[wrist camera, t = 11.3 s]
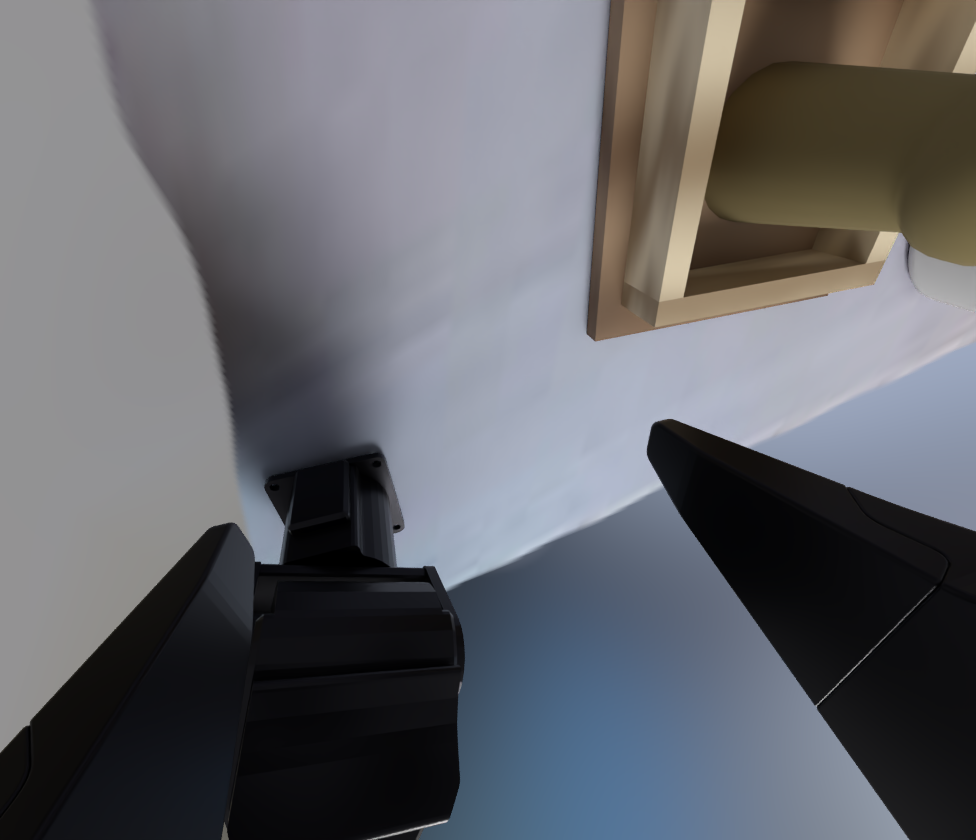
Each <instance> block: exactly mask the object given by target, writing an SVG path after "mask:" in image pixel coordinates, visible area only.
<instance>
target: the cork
mask: <svg viewBox="0 0 976 840" xmlns="http://www.w3.org/2000/svg"><path fill="white" fill-rule="evenodd" d="M704 198H705V201H706V203H707V206H708V208H709V209H710V210H711V211H712V212H713V213H715V214H716V215H717V216H718V217H719V218H721V219H724V220H728V221H732V222H741V223H756V224H772V225H788V226H803V227H819V228H835V229H851V230H866V231H882V232H898V233H902V234H903V236H904V237H905V238H906V240H907V241H908V243H909V244H910V246H911V247H912V248H914V249H916V250H918V251H919V252H921V253H923V254H924V255H926V256H928V257H932V258H935V259H938V260H942V261H946V262H950V263H954V264H958V265H962V266H976V74H965V73H951V72H937V71H923V70H910V69H896V68H882V67H869V66H855V65H841V64H828V63H814V62H800V61H788V62H778V63H772V64H771V65H769V66H767V67H765V68H763V69H761V70H759V71H757V72H755V73H754V74H752V75H751V76H750V77H749V78H748V79H747V80H746V81H745V82H744V83H743V84H742V85H740V86H739V87H738V88H737V89H736V90H735V91H734V92H733V93H732V95H731V96H730V98H729V99H728V101H727V102H726V103H725V105H724V106H723V110H722V115H721V120H720V125H719V130H718V134H717V139H716V144H715V149H714V153H713V158H712V163H711V168H710V173H709V177H708V182H707V187H706V192H705V196H704Z"/></svg>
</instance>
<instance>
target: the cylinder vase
mask: <svg viewBox="0 0 976 840" xmlns="http://www.w3.org/2000/svg"><path fill="white" fill-rule="evenodd" d="M908 268H909V274H910V278H911V281H912V283H913V285H914V286H915V288H916V289H917V290H918V291H919V292H920V293H921V294H922V295H924V296H925V297H927V298H929V299H932V300H935V301H938V302H941V303H945V304H948V305H951V306H954V307H958V308H961V309H964V310H967V311H971V312H974V313H976V266H962V265H958V264H954V263H950V262H946V261H942V260H938V259H935V258H932V257H928V256H926V255H924V254H923V253H921V252H919V251H918V250H916V249H914V248H912V247H911V246H910V249H909V257H908Z"/></svg>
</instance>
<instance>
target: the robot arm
mask: <svg viewBox="0 0 976 840" xmlns="http://www.w3.org/2000/svg"><path fill="white" fill-rule="evenodd" d="M647 456H648V459H649V461H650V463H651V464H652V466H653V468H654V470H655V472H656V473H657V475H658V477H659V479H660V481H661V482H662V484H663V486H664V488H665V489H666V491H667V493H668V495H669V496H670V498H671V500H672V502H673V504H674V505H675V507H676V509H677V510H678V512H679V514H680V515H681V517H682V518H683V520H684V521H685V522H686V524H687V525H688V527H689V528H690V530H691V531H692V533H693V534H694V535H695V537H696V538H697V540H698V541H699V542H700V544H701V545H702V547H703V548H704V550H705V551H706V552H707V554H708V555H709V557H710V558H711V559H712V561H713V562H714V564H715V565H716V566H717V568H718V569H719V571H720V572H721V574H722V575H723V576H724V578H725V579H726V580H727V582H728V583H729V585H730V586H731V588H732V589H733V590H734V592H735V593H736V595H737V596H738V598H739V599H740V600H741V602H742V603H743V605H744V606H745V607H746V609H747V610H748V612H749V613H750V615H751V616H752V617H753V619H754V620H755V621H756V623H757V624H758V626H759V627H760V629H761V630H762V632H763V633H764V634H765V636H766V637H767V639H768V640H769V641H770V643H771V644H772V646H773V647H774V648H775V650H776V651H777V653H778V654H779V656H780V657H781V658H782V660H783V661H784V663H785V664H786V665H787V667H788V668H789V670H790V671H791V673H792V674H793V675H794V677H795V678H796V680H797V681H798V682H799V684H800V685H801V687H802V688H803V689H804V691H805V692H806V694H807V695H808V697H809V698H810V699H811V701H812V702H813V704H814V705H815V706H817V710H818V711H819V713H820V714H821V715H822V717H823V718H824V720H825V721H826V722H827V724H828V725H829V727H830V728H831V729H832V731H833V732H834V734H835V735H836V737H837V738H838V739H839V741H840V742H841V744H842V745H843V746H844V748H845V749H846V751H847V752H848V754H849V755H850V756H851V758H852V759H853V761H854V762H855V763H856V765H857V766H858V768H859V769H860V770H861V772H862V773H863V775H864V776H865V777H866V779H867V780H868V782H869V783H870V785H871V786H872V787H873V789H874V790H875V792H876V793H877V795H878V796H879V797H880V798H881V800H882V801H883V803H884V804H885V806H886V807H887V809H888V810H889V811H890V813H891V814H892V816H893V817H894V819H895V820H896V821H897V823H898V824H899V826H900V827H901V828H902V830H903V831H904V833H905V834H906V835H907V837H908V838H909V840H976V531H973V530H970V529H967V528H964V527H961V526H958V525H955V524H952V523H949V522H946V521H942V520H939V519H937V518H934V517H931V516H928V515H925V514H922V513H919V512H916V511H913V510H910V509H907V508H904V507H901V506H899V505H896V504H893V503H891V502H888V501H885V500H882V499H880V498H877V497H874V496H871V495H869V494H866V493H864V492H861V491H859V490H856V489H853V488H851V487H845V485H843V484H840V483H838V482H835V481H832V480H830V479H827V478H825V477H822V476H819V475H817V474H814V473H812V472H809V471H806V470H804V469H801V468H799V467H796V466H793V465H791V464H788V463H785V462H783V461H780V460H777V459H775V458H772V457H770V456H767V455H765V454H762V453H759V452H757V451H754V450H752V449H749V448H746V447H744V446H741V445H739V444H736V443H733V442H731V441H728V440H725V439H723V438H720V437H718V436H715V435H712V434H710V433H707V432H705V431H702V430H699V429H697V428H694V427H692V426H689V425H686V424H684V423H681V422H678V421H676V420H673V419H666V420H662V421H658V422H655V423H654V424H653V425H652V427H651V431H650V436H649V441H648V446H647ZM374 461H380V462H379V463H373V462H374ZM272 484H277V485H278V486H273V485H272ZM264 488H265V491H266V492H267V494H268V496H269V498H270V500H271V501H272V503H273V505H274V507H275V509H276V510H277V512H278V514H279V516H280V518H281V519H282V521H283V523H284V525H285V530H284V537H283V543H282V549H281V556H280V562H279V564H261V562H255V557H254V551H253V549H252V547H251V545H250V543H249V542H248V540H247V539H246V537H245V536H244V534H243V533H242V531H241V530H240V528H239V527H238V526H237V524H235V523H226V524H222V525H218V526H213V527H211V528H209V529H208V530H207V531H206V532H205V533H204V534H203V535H202V536H201V537H200V538H199V540H198V541H197V542H196V543H195V544H194V545H193V546H192V547H191V548H190V549H189V550H188V552H186V554H185V555H184V556H183V557H182V558H181V559H180V560H179V561H178V562H177V563H176V564H175V566H174V567H173V568H172V569H171V570H170V571H169V572H168V573H167V574H166V575H165V576H164V577H163V578H162V579H161V580H160V582H159V583H158V584H157V585H156V586H155V587H154V588H153V589H152V590H151V591H150V592H149V594H147V596H146V597H145V598H144V599H143V600H142V601H141V602H140V603H139V604H138V605H137V606H136V607H135V608H134V610H133V611H132V612H131V613H130V614H129V615H128V616H127V617H126V618H125V619H124V620H123V622H121V624H120V625H119V626H118V627H117V628H116V629H115V630H114V631H113V632H112V633H111V634H110V636H108V638H107V639H106V640H105V641H104V642H103V643H102V644H101V645H100V646H99V647H98V648H97V649H96V651H95V652H94V653H93V654H92V655H91V656H90V657H89V658H88V659H87V660H86V661H85V662H84V663H83V664H82V666H81V667H80V668H79V669H78V670H77V671H76V672H75V673H74V674H73V675H72V676H71V678H70V679H69V680H68V681H67V682H66V683H65V684H64V685H63V686H62V687H61V688H60V689H59V690H58V691H57V692H56V694H55V695H54V696H53V697H52V698H51V699H50V700H49V701H48V702H47V703H46V704H45V705H44V707H43V708H42V709H41V710H40V711H39V712H38V713H37V714H36V715H35V716H34V717H33V718H32V720H31V721H30V725H29V726H25V727H24V728H23V729H22V730H21V731H20V732H19V733H18V734H17V735H16V737H14V739H13V740H12V741H11V742H10V743H9V744H8V745H7V746H6V747H5V748H4V749H3V750H2V752H1V753H0V840H221V837H222V831H223V825H224V822H225V824H226V827H227V833H228V838H229V840H419V838H420V836H421V833H422V831H423V829H424V828H426V827H430V826H434V825H439V824H442V823H446V822H447V821H448V820H449V818H450V815H451V813H452V809H453V806H454V802H455V799H456V796H457V792H458V789H459V784H460V772H459V757H458V737H457V710H458V708H457V707H458V694H459V692H460V688H461V684H462V680H463V674H464V662H465V652H464V639H463V633H462V628H461V624H460V622H459V619H458V616H457V614H456V612H455V610H454V608H453V606H452V604H451V601H450V599H449V597H448V595H447V593H446V590H445V588H444V586H443V584H442V582H441V580H440V577H439V575H438V573H437V571H436V569H435V567H434V566H424V567H423V568H404V567H397V563H396V554H395V545H394V535H393V534H394V533H397V532H400V531H402V530H403V529H404V520H403V517H402V513H401V510H400V506H399V503H398V500H397V496H396V493H395V489H394V486H393V483H392V479H391V476H390V472H389V469H388V465H387V462H386V459H385V457H384V455H383V454H381V453H373V454H368V455H364V456H359V457H355V458H351V459H346V460H342V461H337V462H333V463H328V464H324V465H319V466H315V467H310V468H306V469H301V470H297V471H293V472H288V473H284V474H279V475H275V476H271V477H269V478H268V479H267V480H266V482H265V487H264Z"/></svg>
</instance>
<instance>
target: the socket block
mask: <svg viewBox="0 0 976 840" xmlns="http://www.w3.org/2000/svg"><path fill="white" fill-rule="evenodd" d="M788 61H800V62H814V63H828V64H841V65H855V66H869V67H882V68H896V69H910V70H923V71H937V72H951V73H965V74H975V72H976V0H611V7H610V21H609V35H608V49H607V62H606V76H605V90H604V104H603V117H602V131H601V145H600V159H599V172H598V186H597V200H596V214H595V227H594V241H593V255H592V269H591V283H590V296H589V310H588V324H587V335H589V336H590V337H591V338H592V339H593V340H594V341H600V340H605V339H610V338H615V337H620V336H625V335H630V334H635V333H640V332H645V331H650V330H655V329H661V328H666V327H671V326H676V325H681V324H686V323H691V322H696V321H701V320H706V319H711V318H716V317H721V316H726V315H731V314H737V313H742V312H747V311H752V310H757V309H762V308H767V307H772V306H777V305H782V304H787V303H792V302H797V301H802V300H808V299H813V298H818V297H823V296H828V293H833V292H838V291H843V290H848V289H853V288H858V287H863V286H869V285H874V283H875V281H876V279H877V277H878V275H879V273H880V271H881V269H882V267H883V265H884V263H885V260H886V258H887V256H888V254H889V252H890V250H891V248H892V246H893V244H894V242H895V240H896V237H897V235H898V232H882V231H866V230H851V229H835V228H819V227H803V226H788V225H772V224H756V223H741V222H732V221H728V220H724V219H721V218H719V217H718V216H717V215H716V214H715V213H713V212H712V211H711V210H710V209H709V208H708V206H707V203H706V201H705V198H704V196H705V192H706V187H707V182H708V177H709V173H710V168H711V163H712V158H713V153H714V149H715V144H716V139H717V134H718V130H719V125H720V120H721V115H722V110H723V106H724V105H725V103H726V102H727V101H728V99H729V98H730V96H731V95H732V93H733V92H734V91H735V90H736V89H737V88H738V87H739V86H740V85H742V84H743V83H744V82H745V81H746V80H747V79H748V78H749V77H750V76H751V75H752V74H754V73H755V72H757V71H759V70H761V69H763V68H765V67H767V66H769V65H771V64H772V63H778V62H788Z"/></svg>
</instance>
